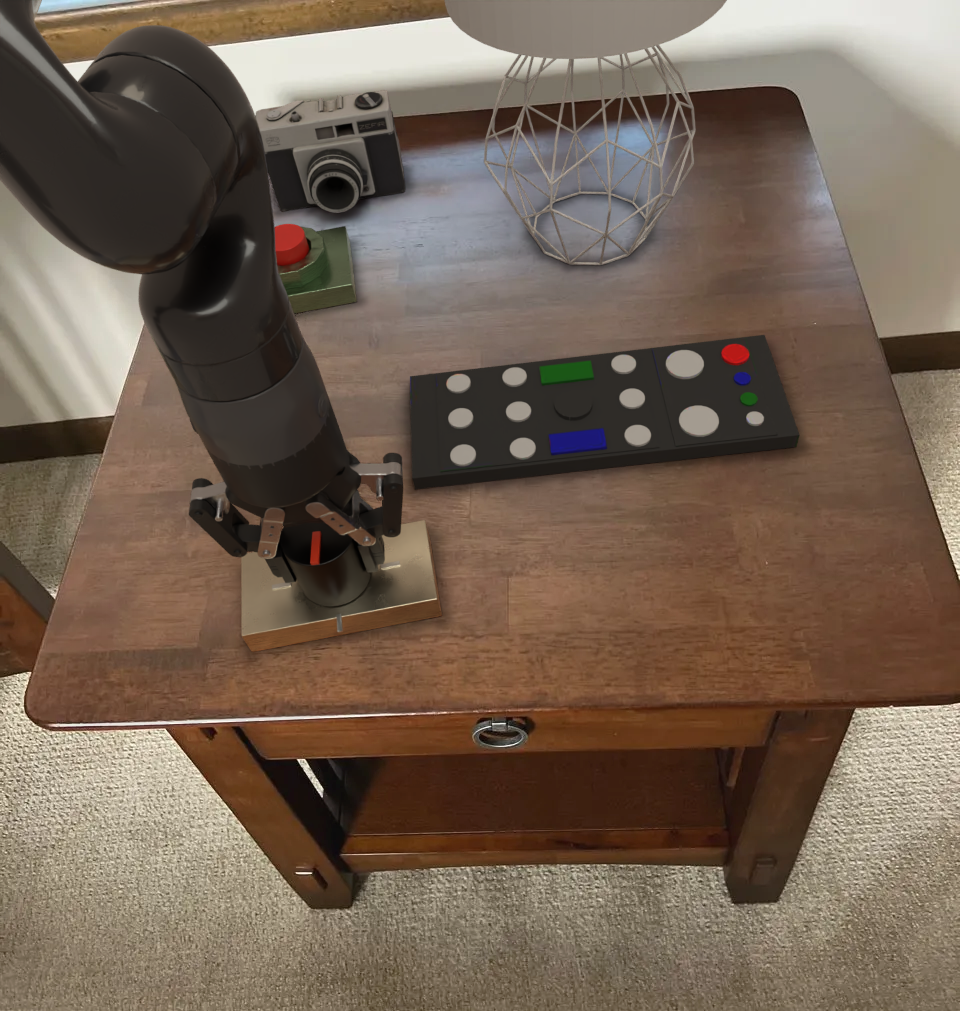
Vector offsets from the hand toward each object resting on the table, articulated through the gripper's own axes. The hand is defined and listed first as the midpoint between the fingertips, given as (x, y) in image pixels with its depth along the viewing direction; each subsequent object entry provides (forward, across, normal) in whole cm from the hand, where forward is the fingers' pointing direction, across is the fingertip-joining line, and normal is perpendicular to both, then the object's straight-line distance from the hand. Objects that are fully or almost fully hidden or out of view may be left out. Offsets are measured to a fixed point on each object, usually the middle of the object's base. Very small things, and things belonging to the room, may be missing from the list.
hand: (331, 566), depth 66 cm
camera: (+4, +1, -48) cm, 49 cm away
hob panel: (+4, 0, 0) cm, 4 cm away
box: (+4, +5, -36) cm, 37 cm away
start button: (0, +5, -36) cm, 37 cm away
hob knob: (+1, 0, 0) cm, 1 cm away
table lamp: (+4, -24, -38) cm, 46 cm away
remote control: (+4, -21, -14) cm, 26 cm away
